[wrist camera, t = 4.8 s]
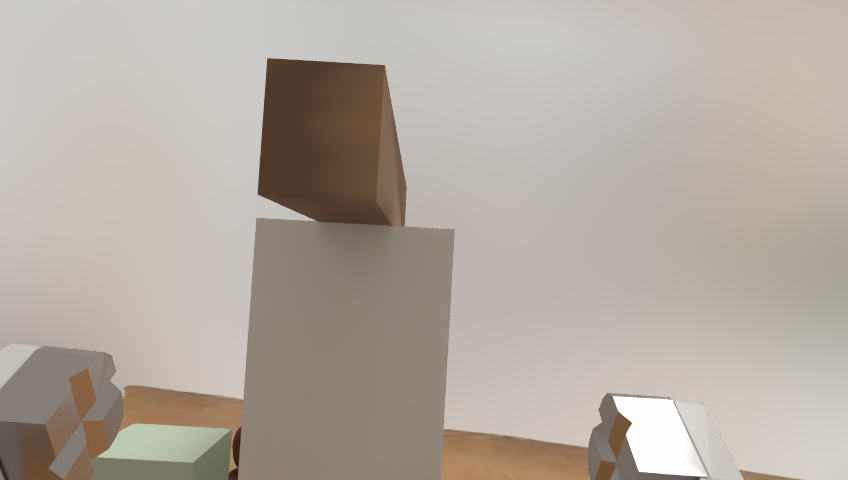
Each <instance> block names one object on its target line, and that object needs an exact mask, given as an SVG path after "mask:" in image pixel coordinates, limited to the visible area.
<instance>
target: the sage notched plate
mask: <svg viewBox="0 0 848 480" xmlns="http://www.w3.org/2000/svg"><path fill="white" fill-rule="evenodd" d="M231 434H232V429H221V428H204V427H186V426H169V425H152V424H133V425H131V426H129V427H127V428H125V429H123V430H122V431H120V432H118V434H117V436H116V438H115V440H114V441H113V443H112V445H111V447H110V448H109V449H108V450H107V451H105V452H104V453H102V454H100V455H99V456H97V457H96V458H94V459H93V464H94V469H95V473H94V475H93V476H92V478H91V480H228V476H229V462H230V448H231Z"/></svg>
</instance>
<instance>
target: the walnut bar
mask: <svg viewBox="0 0 848 480" xmlns="http://www.w3.org/2000/svg"><path fill="white" fill-rule="evenodd" d="M406 189H407V188H406V182H405V177H404V171H403V166H402V160H401V154H400V149H399V143H398V137H397V133H396V126H395V121H394V115H393V110H392V104H391V98H390V93H389V87H388V82H387V76H386V70H385V66H384V65H371V64H354V63H337V62H321V61H304V60H287V59H271V58H269V59H267V71H266V85H265V99H264V113H263V127H262V141H261V155H260V169H259V183H258V195H260V196H262V197H264V198H267V199H269V200H271V201H273V202H276V203H278V204H280V205H283V206H285V207H287V208H289V209H292V210H294V211H296V212H298V213H300V214H303V215H305V216H307V217H309V218H312V219H314V220H316V221H318V222H334V223H351V224H368V225H385V226H402V227H404V224H405V206H406Z"/></svg>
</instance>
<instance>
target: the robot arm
mask: <svg viewBox="0 0 848 480" xmlns="http://www.w3.org/2000/svg"><path fill="white" fill-rule="evenodd" d="M115 372H116V369H115V365H114V362H113V358H112V356H111V355H109V354H107V353H105V352H96V351H87V350H77V349H68V348H57V347H48V346H44V347H41V346H40V347H39V346H32V345H23V344H12V345H9V346H7V347H4V348H3V349H2V350H1V351H0V480H91V478H92V476H93V475H94V473H95V469H94V464H93V459H94V458H96V457H97V456H99V455H100V454H102V453H104V452H105V451H107V450H108V449H109V448H110V447H111V445H112V443H113V441H114V440H115V438H116V436H117V434H118V431H119V428H120V425H121V421H122V418H123V399H122V394H121V391H120V390H119V389H118V388H117V387H116V386H115V385H114V384H112V383H111V382H110V379H111V378H112V376H113V375H114V374H115ZM599 412H600V416H601V419H602V423H601V424H599V425H598V426H596V427H595V428H594V429H593V430H592V434H591V437H590V441H589V449H588V466H589V474H590V478H591V480H744V479H743V477H742V475H741V473H740V471H739V469H738V468H737V466H736V464H735V462H734V460H733V458H732V456H731V454H730V452H729V450H728V449H727V447H726V445H725V443H724V441H723V439H722V437H721V435H720V433H719V432H718V430H717V428H716V426H715V424H714V422H713V420H712V418H711V416H710V414H709V412H708V411H707V409H706V407H705V405H704V404H703V403H702V402H701V401H700V400H699V399H689V398H675V397H667V398H665V397H655V396H642V395H628V394H615V393H614V394H613V393H607V394H606V395H605V396H604V398H603V399H602V402H601V405H600V408H599Z"/></svg>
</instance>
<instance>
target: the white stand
mask: <svg viewBox="0 0 848 480" xmlns="http://www.w3.org/2000/svg"><path fill="white" fill-rule="evenodd" d="M254 247H255V248H254V261H253V275H252V289H251V302H250V318H249V330H248V344H247V358H246V372H245V387H244V400H243V414H242V428H241V442H240V456H239V470H238V480H441V462H442V444H443V426H444V408H445V391H446V390H445V389H446V373H447V355H448V338H449V337H448V336H449V320H450V302H451V284H452V267H453V249H454V230H453V229H452V230H451V229H435V228H419V227H402V226H385V225H368V224H351V223H334V222H317V221H300V220H283V219H265V218H257V219H256V232H255V246H254Z"/></svg>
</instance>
